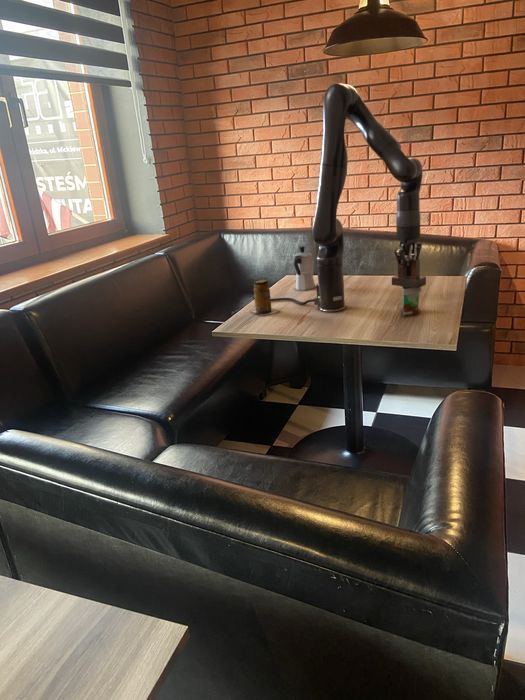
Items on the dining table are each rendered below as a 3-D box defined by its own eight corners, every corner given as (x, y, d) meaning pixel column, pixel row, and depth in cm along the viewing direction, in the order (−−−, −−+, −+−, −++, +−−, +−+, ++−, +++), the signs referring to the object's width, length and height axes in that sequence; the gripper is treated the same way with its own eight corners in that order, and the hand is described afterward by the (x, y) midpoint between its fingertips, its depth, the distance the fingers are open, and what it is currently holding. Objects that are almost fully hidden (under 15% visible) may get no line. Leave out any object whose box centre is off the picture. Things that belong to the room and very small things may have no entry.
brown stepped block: (391, 285, 182) (391, 259, 179) (399, 281, 186) (399, 256, 182) (418, 288, 175) (418, 262, 172) (425, 284, 179) (426, 258, 176)
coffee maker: (301, 284, 239) (298, 243, 233) (319, 284, 235) (317, 243, 229) (288, 293, 227) (284, 250, 221) (307, 293, 223) (304, 250, 217)
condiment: (267, 307, 209) (264, 277, 205) (278, 312, 202) (275, 281, 198) (251, 312, 206) (247, 281, 202) (261, 316, 199) (258, 285, 195)
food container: (422, 317, 179) (422, 288, 175) (403, 318, 180) (403, 289, 177) (420, 306, 190) (420, 279, 187) (402, 307, 191) (401, 280, 188)
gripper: (409, 219, 180) (409, 270, 186) (386, 226, 171) (387, 279, 178) (429, 220, 175) (429, 272, 181) (407, 227, 166) (407, 281, 172)
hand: (408, 275), depth 179 cm, fingers closed on brown stepped block
